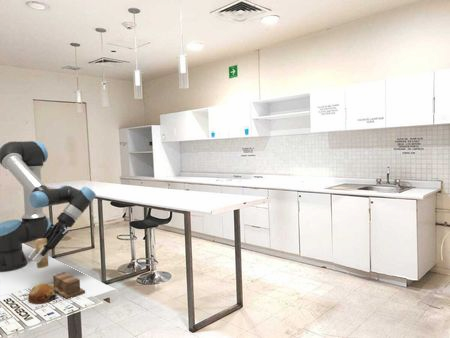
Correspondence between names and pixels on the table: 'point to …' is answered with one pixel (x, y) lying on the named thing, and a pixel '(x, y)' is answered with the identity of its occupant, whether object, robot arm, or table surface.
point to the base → (67, 285)
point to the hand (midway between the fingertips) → (33, 260)
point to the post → (39, 246)
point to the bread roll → (42, 293)
